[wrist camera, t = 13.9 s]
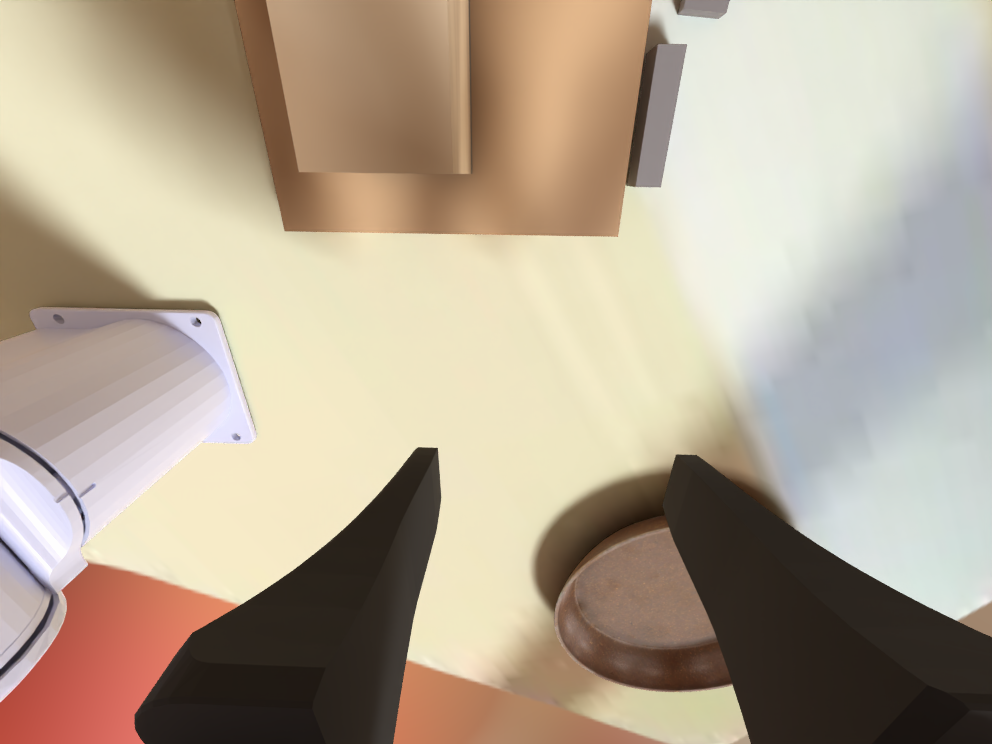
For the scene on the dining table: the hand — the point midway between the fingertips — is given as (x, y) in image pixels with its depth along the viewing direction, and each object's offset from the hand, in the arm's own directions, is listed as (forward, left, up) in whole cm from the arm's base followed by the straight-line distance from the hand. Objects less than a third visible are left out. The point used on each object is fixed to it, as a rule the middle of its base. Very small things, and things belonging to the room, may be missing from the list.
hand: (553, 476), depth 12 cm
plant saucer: (+11, -18, -10) cm, 23 cm away
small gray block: (+4, +10, -9) cm, 14 cm away
